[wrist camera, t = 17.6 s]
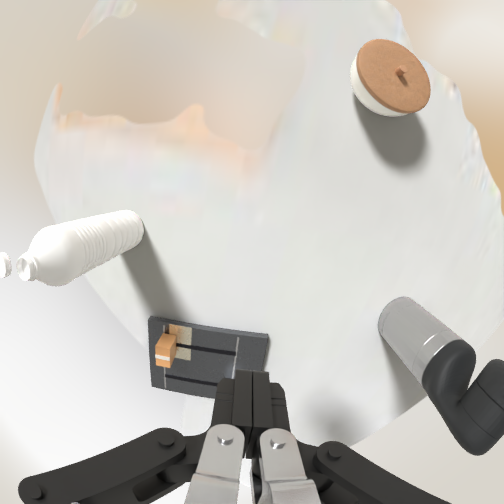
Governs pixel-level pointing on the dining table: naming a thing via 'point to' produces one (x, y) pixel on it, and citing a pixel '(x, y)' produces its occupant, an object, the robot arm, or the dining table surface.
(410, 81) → the lidded bowl
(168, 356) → the fader orange
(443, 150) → the dining table surface
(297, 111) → the dining table surface
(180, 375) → the console
